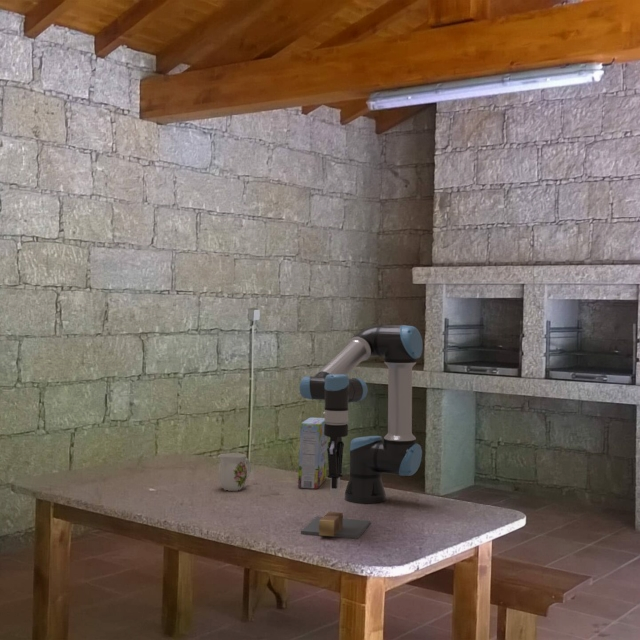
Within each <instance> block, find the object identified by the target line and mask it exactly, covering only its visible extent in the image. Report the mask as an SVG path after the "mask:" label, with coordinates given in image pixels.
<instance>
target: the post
mask: <svg viewBox="0 0 640 640" xmlns="http://www.w3.org/2000/svg"><path fill="white" fill-rule="evenodd" d="M322 517H323V518H321V519H320V520H319V535H324V536H323V537H331V536H334V535H335V534H336V533H337V532H338V531H339V530H340V529H341V528H342V527H343V518H344V513H343V512H336V511H328V512H327V513H326V514H325V515H324V516H322Z"/></svg>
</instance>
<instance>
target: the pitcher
mask: <svg viewBox="0 0 640 640" xmlns="http://www.w3.org/2000/svg"><path fill="white" fill-rule="evenodd" d="M217 458H218V459H220V462H219V466H218V479H219V483H220V486H221V487H222V489H223V490H224V491H226V490H228V492H237V491H238V490H239V491H241V490H242V489H243V487H244V486H245V483H246V481H247V479H248V477H249V476H250V474H251V469H252V465H251V462H250V459H249V458H247V455H246V454H244V453H240V452H239V453H237V452H234V453H233V452H232V453H231V452H229V453H221V454H219V455H217ZM239 491H238V492H239Z"/></svg>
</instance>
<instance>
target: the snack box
mask: <svg viewBox="0 0 640 640" xmlns="http://www.w3.org/2000/svg"><path fill="white" fill-rule="evenodd" d="M325 424H326V422H325V421H324V417H309V418H307V419H305V420H303V421H302V422H300V429H299V430H300V431H299V452H298V454H299V457H298V459H299V460H298V478H297V479H298V480H297V487H298V488H299V489H310V490H311V489H312V490H318V488H319V487H320V486H321V485H322V484H323V483H324V482H325V480H326V479H327V461H328V452H327V448H328V436H325V435H324V425H325Z"/></svg>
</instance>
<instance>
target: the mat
mask: <svg viewBox="0 0 640 640" xmlns="http://www.w3.org/2000/svg"><path fill="white" fill-rule="evenodd" d="M323 517H324V516H316V517H315V518H313V519H312V520H311V521H310V522H309V523H308V524H307V525H306V526H304V528H302V529H301V530H300V534H301V535H310V536H317V537H318V536H321V537H325V536H324V535H319V520H320V519H321V518H323ZM370 525H371V520H369V519H357V518H344V517H343V527H342V528H341V529H340V530H339V531H338V532H337V533H336V534H335V535H334V536H330V537H331V538H332V537H334V538H345V539H356V540H357V539H359V538H360V537H361V536H362V535H363V533H364V532H365V531H366V529H367V528H369V526H370Z"/></svg>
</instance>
